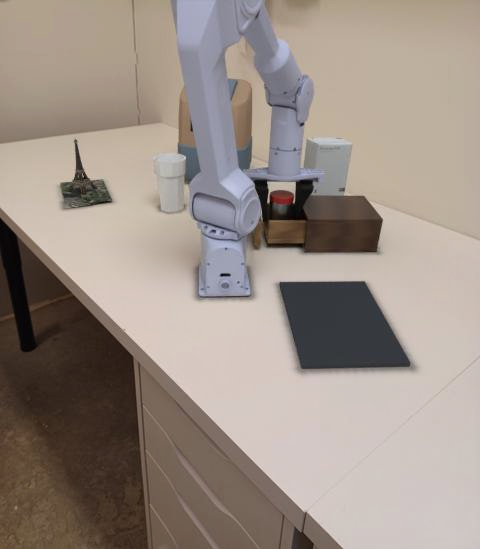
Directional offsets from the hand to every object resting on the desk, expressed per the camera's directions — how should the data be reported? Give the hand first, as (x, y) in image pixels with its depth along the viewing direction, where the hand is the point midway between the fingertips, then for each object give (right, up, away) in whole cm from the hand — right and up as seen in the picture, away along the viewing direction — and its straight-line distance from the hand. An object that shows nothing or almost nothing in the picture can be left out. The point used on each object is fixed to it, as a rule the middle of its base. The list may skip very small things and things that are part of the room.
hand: (280, 218), depth 89 cm
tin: (0, -2, +1) cm, 2 cm away
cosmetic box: (+10, +4, +17) cm, 20 cm away
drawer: (-1, -3, +2) cm, 3 cm away
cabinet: (+11, -4, +3) cm, 12 cm away
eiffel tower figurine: (-43, +8, +19) cm, 47 cm away
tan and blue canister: (-14, +14, +31) cm, 37 cm away
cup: (-22, +4, +13) cm, 26 cm away
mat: (+7, -17, -21) cm, 28 cm away
